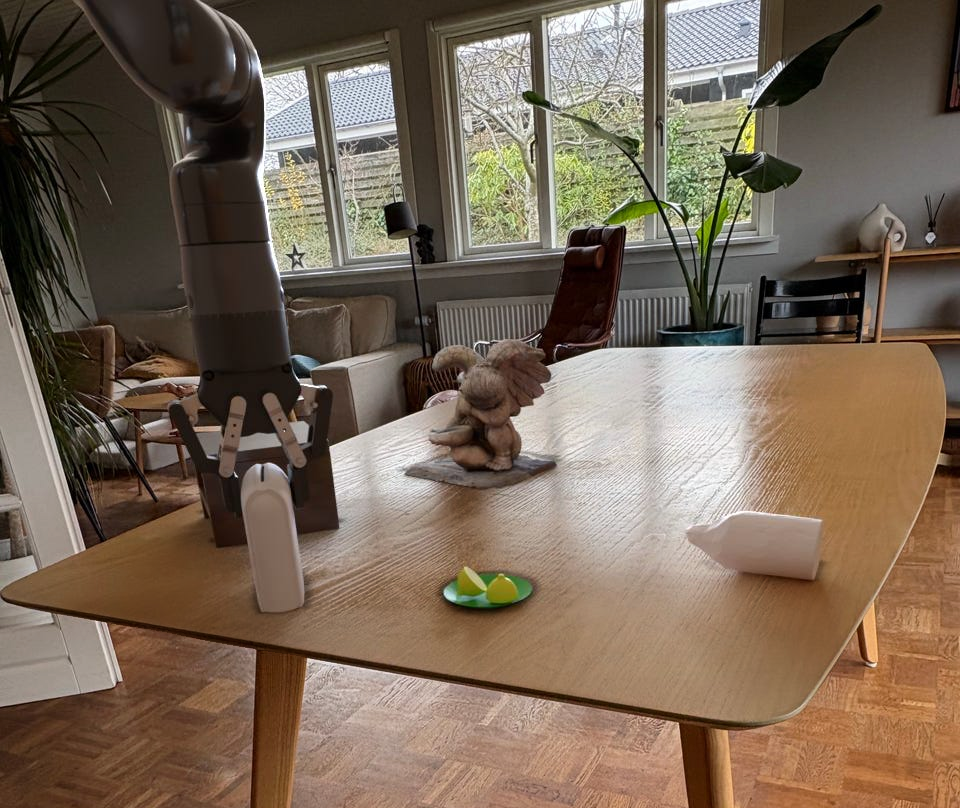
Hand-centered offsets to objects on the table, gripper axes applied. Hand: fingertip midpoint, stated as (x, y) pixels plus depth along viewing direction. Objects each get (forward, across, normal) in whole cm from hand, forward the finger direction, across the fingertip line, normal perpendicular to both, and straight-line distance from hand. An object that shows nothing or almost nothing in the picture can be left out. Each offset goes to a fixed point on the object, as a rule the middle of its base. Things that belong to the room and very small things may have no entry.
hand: (268, 511), depth 74 cm
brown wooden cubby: (+8, -3, -26) cm, 27 cm away
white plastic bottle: (+9, -41, +15) cm, 45 cm away
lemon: (+9, -17, +9) cm, 21 cm away
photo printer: (+9, 0, 0) cm, 9 cm away
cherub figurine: (+9, -35, -36) cm, 51 cm away
